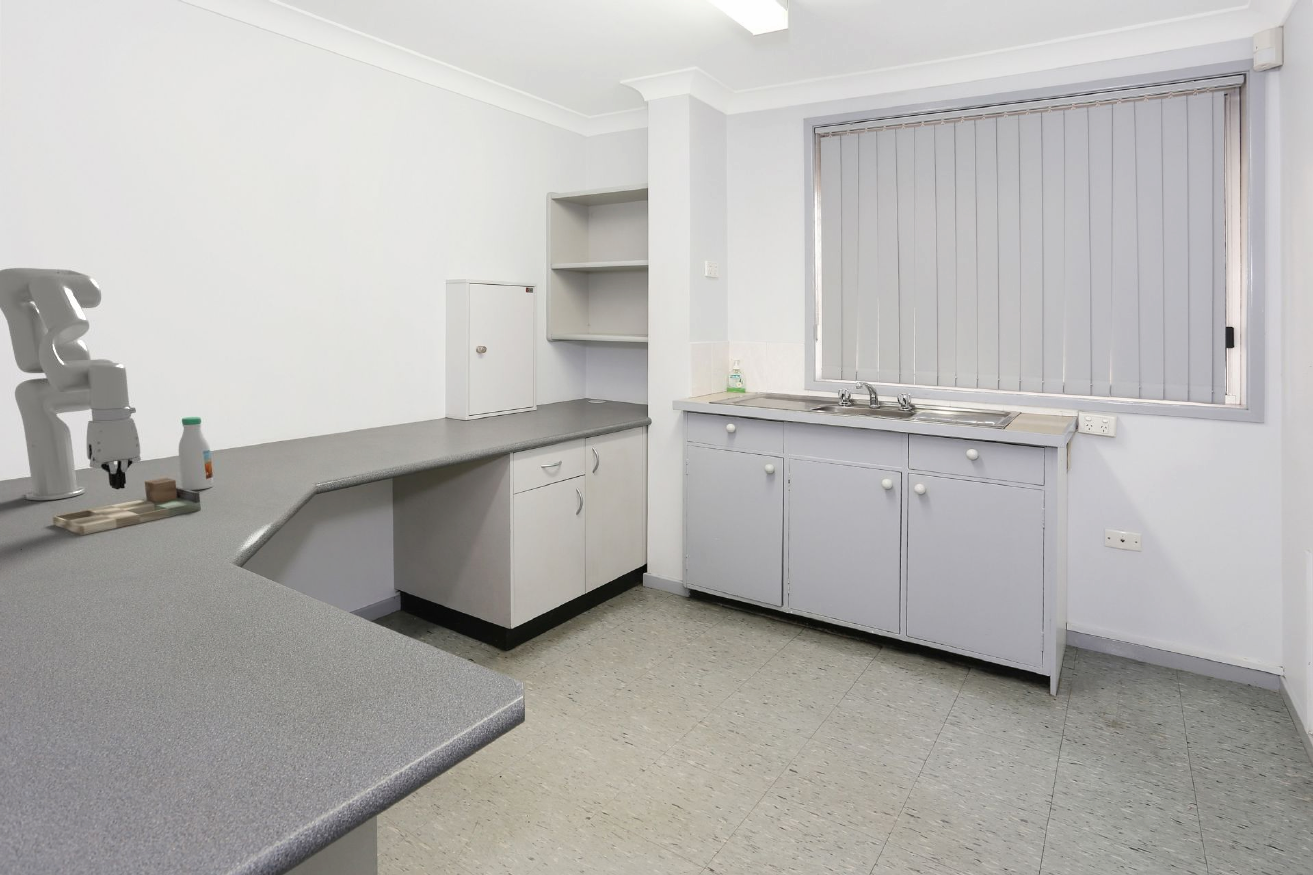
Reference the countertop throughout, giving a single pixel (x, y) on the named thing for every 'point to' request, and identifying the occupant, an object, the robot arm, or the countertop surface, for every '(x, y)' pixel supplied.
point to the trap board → (127, 513)
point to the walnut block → (160, 490)
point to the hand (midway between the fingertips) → (118, 487)
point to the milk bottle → (194, 456)
